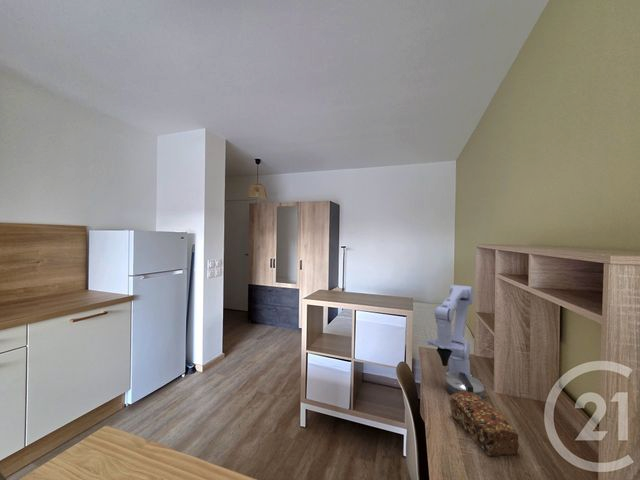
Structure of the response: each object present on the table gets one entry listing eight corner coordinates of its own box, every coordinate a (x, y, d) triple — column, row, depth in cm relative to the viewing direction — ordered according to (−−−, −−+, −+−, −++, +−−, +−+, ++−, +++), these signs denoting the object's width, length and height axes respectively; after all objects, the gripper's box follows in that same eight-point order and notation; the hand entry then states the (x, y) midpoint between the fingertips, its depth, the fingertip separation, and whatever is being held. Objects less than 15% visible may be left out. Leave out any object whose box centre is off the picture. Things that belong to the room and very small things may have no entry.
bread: (449, 416, 91) (449, 389, 92) (476, 414, 92) (475, 387, 93) (488, 459, 73) (487, 425, 73) (521, 456, 74) (520, 422, 74)
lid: (442, 373, 114) (442, 366, 114) (477, 377, 110) (476, 370, 110) (451, 392, 99) (450, 384, 99) (490, 397, 95) (490, 389, 95)
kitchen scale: (443, 382, 114) (443, 373, 114) (477, 386, 110) (477, 377, 110) (453, 407, 96) (452, 396, 96) (493, 413, 92) (492, 402, 92)
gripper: (424, 332, 112) (424, 362, 111) (459, 341, 101) (459, 374, 101) (430, 328, 116) (431, 357, 116) (464, 336, 106) (465, 368, 105)
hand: (445, 365), depth 109 cm, fingers closed
